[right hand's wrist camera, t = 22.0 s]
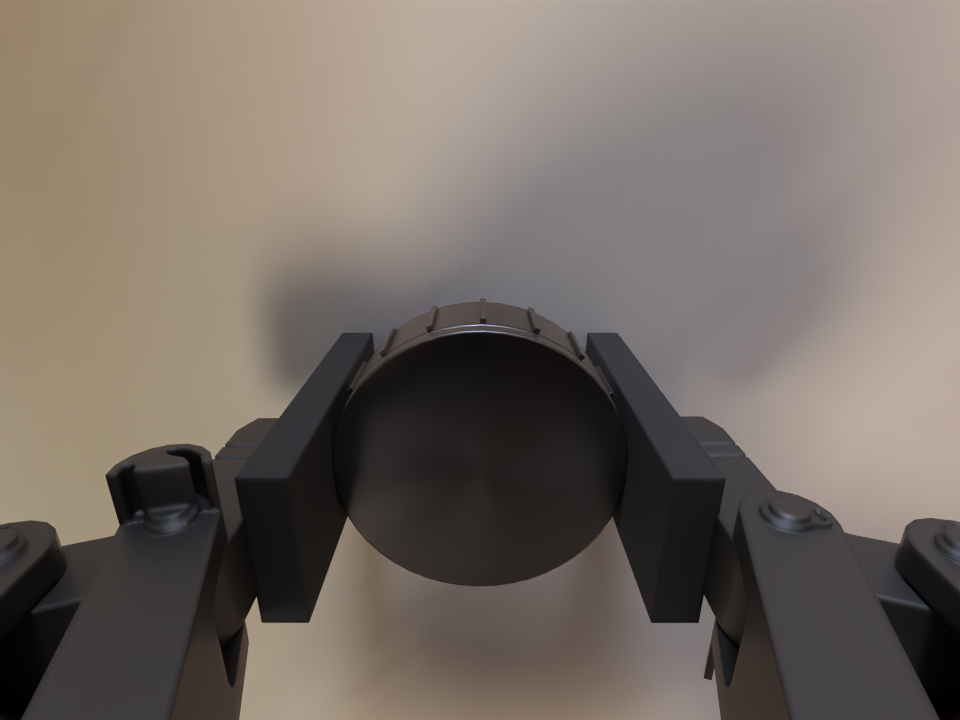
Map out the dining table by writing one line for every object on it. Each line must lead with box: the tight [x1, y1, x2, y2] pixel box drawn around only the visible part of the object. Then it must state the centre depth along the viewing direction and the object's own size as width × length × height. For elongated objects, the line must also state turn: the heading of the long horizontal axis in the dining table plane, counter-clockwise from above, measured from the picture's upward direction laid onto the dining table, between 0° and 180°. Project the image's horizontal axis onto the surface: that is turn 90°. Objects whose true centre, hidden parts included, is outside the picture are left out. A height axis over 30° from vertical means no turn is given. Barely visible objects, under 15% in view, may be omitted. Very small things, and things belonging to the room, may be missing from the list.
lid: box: [332, 299, 628, 586], centre depth 11 cm, size 6×6×2 cm
